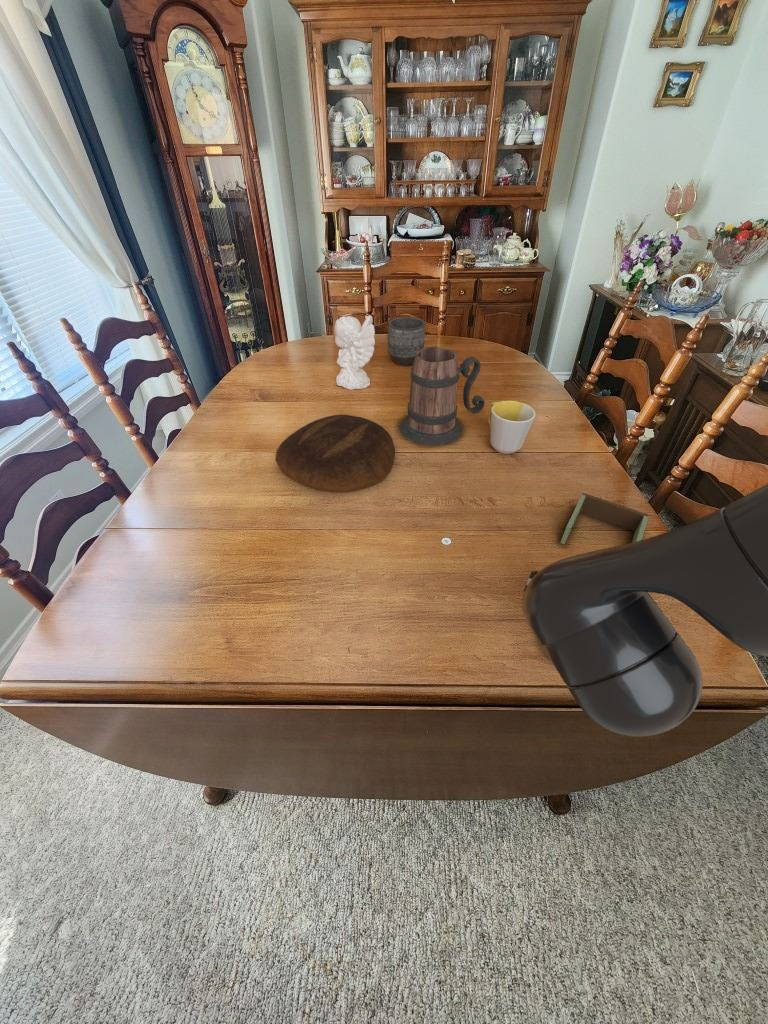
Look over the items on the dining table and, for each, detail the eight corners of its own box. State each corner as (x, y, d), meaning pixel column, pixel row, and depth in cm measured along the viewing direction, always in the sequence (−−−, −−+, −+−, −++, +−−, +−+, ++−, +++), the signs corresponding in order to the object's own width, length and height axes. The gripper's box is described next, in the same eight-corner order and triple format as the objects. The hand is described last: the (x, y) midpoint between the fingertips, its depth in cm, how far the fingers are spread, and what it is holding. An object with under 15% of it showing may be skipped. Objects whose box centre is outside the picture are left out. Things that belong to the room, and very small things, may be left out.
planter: (430, 360, 148) (432, 321, 139) (408, 371, 141) (409, 332, 133) (403, 351, 154) (404, 314, 145) (380, 361, 147) (380, 323, 139)
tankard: (414, 450, 107) (417, 374, 93) (390, 418, 119) (390, 346, 105) (496, 433, 113) (510, 358, 99) (466, 404, 124) (475, 334, 111)
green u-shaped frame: (639, 531, 85) (649, 514, 82) (628, 569, 78) (638, 553, 75) (576, 508, 90) (582, 492, 87) (560, 543, 83) (566, 526, 80)
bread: (417, 452, 106) (418, 421, 100) (351, 514, 89) (349, 481, 84) (328, 420, 118) (324, 391, 112) (255, 470, 101) (247, 438, 95)
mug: (532, 457, 104) (543, 419, 97) (492, 461, 103) (499, 423, 96) (512, 428, 114) (520, 392, 107) (475, 431, 113) (481, 395, 106)
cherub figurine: (336, 372, 141) (331, 308, 128) (374, 371, 142) (372, 307, 128) (335, 391, 131) (329, 323, 118) (376, 389, 132) (374, 322, 118)
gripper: (690, 611, 38) (656, 599, 53) (533, 547, 44) (542, 553, 59) (656, 688, 38) (631, 655, 53) (505, 614, 44) (520, 603, 59)
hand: (584, 601), depth 56 cm, fingers open, 8 cm apart
